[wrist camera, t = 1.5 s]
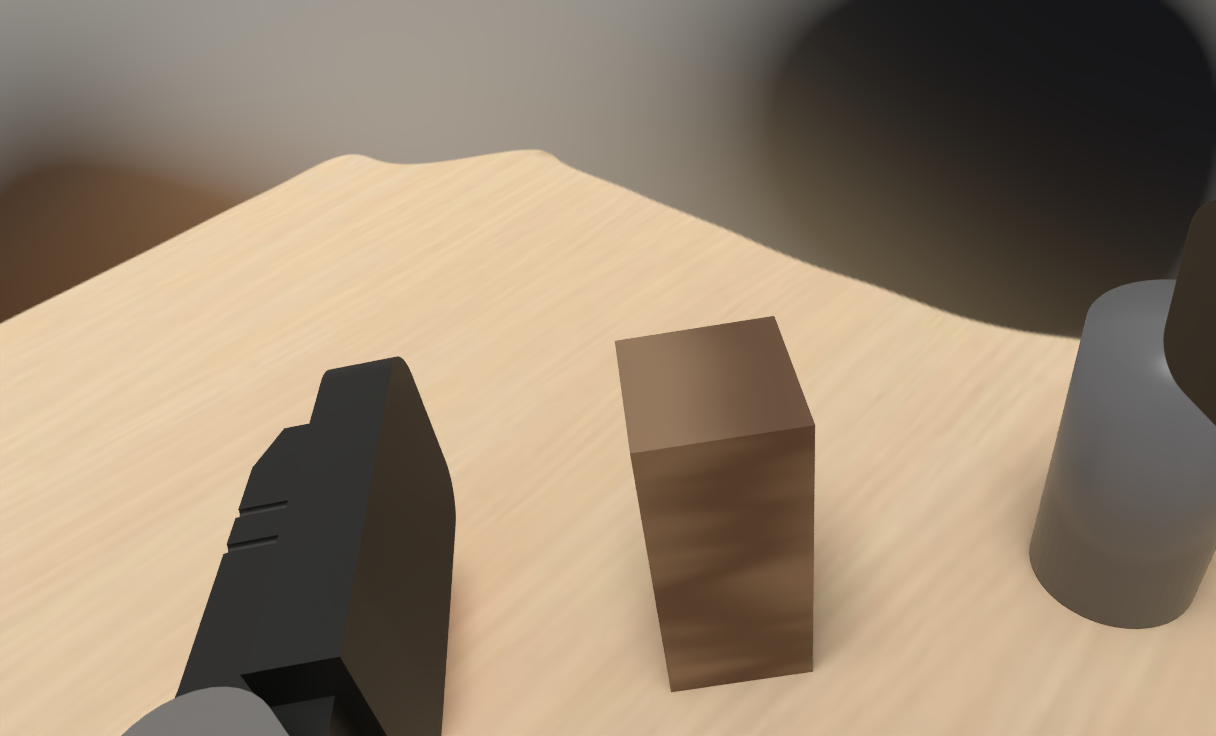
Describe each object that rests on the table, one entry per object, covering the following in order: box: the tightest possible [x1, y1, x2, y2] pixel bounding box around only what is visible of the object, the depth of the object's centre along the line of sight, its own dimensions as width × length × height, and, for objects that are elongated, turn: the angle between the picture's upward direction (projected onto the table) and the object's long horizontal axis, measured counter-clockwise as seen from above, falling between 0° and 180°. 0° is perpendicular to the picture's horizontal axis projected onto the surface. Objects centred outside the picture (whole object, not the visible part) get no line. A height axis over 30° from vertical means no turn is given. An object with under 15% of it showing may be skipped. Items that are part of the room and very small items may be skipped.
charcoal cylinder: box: [1029, 280, 1216, 629], centre depth 27 cm, size 5×5×10 cm
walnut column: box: [615, 316, 815, 692], centre depth 28 cm, size 5×5×11 cm
